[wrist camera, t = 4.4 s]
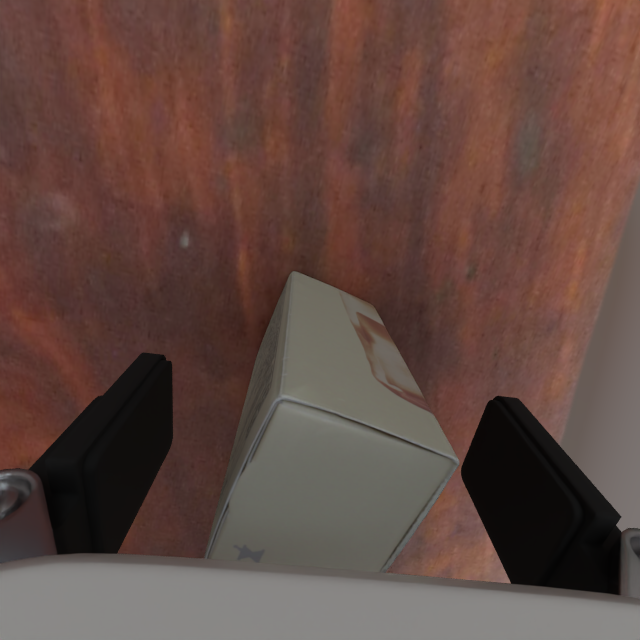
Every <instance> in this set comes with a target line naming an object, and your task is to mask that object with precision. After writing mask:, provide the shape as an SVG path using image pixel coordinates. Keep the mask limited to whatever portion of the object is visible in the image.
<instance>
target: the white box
mask: <svg viewBox="0 0 640 640" xmlns="http://www.w3.org/2000/svg"><path fill="white" fill-rule="evenodd" d="M458 466H459V460H458V458H457V456H456V454H455V452H454V451H453V449H452V447H451V445H450V443H449V442H448V440H447V438H446V436H445V434H444V433H443V431H442V429H441V427H440V425H439V423H438V421H437V419H436V418H435V416H434V415H433V413H432V411H431V409H430V408H429V406H428V404H427V402H426V400H425V398H424V396H423V395H422V393H421V391H420V389H419V387H418V385H417V384H416V382H415V380H414V378H413V376H412V374H411V373H410V371H409V369H408V367H407V365H406V363H405V362H404V360H403V358H402V356H401V354H400V353H399V351H398V349H397V347H396V346H395V344H394V342H393V340H392V338H391V337H390V335H389V333H388V331H387V329H386V327H385V325H384V324H383V322H382V320H381V318H380V316H379V315H378V313H377V311H376V309H375V307H374V306H373V305H372V304H370V303H368V302H366V301H364V300H362V299H359V298H357V297H355V296H353V295H351V294H348V293H346V292H344V291H342V290H339V289H337V288H335V287H332V286H330V285H328V284H325V283H323V282H321V281H318V280H316V279H314V278H311V277H308V276H306V275H304V274H301V273H299V272H296V271H293V272H292V273H291V274H290V275H289V277H288V280H287V282H286V284H285V287H284V289H283V291H282V294H281V296H280V298H279V301H278V303H277V305H276V308H275V310H274V313H273V315H272V318H271V320H270V323H269V325H268V328H267V330H266V333H265V336H264V338H263V341H262V343H261V346H260V349H259V352H258V354H257V357H256V361H255V364H254V369H253V373H252V377H251V380H250V384H249V388H248V392H247V396H246V399H245V403H244V407H243V411H242V415H241V419H240V422H239V426H238V429H237V433H236V437H235V441H234V445H233V449H232V453H231V457H230V460H229V464H228V467H227V471H226V475H225V479H224V483H223V487H222V490H221V494H220V498H219V502H218V506H217V509H216V513H215V517H214V521H213V525H212V529H211V533H210V536H209V540H208V544H207V548H206V552H205V557H204V559H216V560H229V561H242V562H255V563H268V564H281V565H294V566H307V567H319V568H332V569H344V570H356V571H369V572H381V573H385V572H386V571H387V569H388V568H389V567H390V566H391V564H392V563H393V562H394V560H395V559H396V557H397V556H398V555H399V553H400V552H401V551H402V549H403V548H404V546H405V545H406V544H407V542H408V541H409V539H410V538H411V537H412V535H413V534H414V532H415V531H416V529H417V528H418V526H419V525H420V523H421V522H422V521H423V519H424V518H425V517H426V516H427V514H428V512H429V510H430V509H431V507H432V506H433V505H434V503H435V502H436V500H437V499H438V497H439V495H440V494H441V492H442V491H443V489H444V487H445V485H446V484H447V482H448V481H449V479H450V478H451V476H452V474H453V473H454V471H455V470H456V469H457V467H458Z"/></svg>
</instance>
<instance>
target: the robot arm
mask: <svg viewBox="0 0 640 640" xmlns="http://www.w3.org/2000/svg"><path fill="white" fill-rule="evenodd" d="M172 439H173V400H172V362H171V361H167V360H166V357H165V356H164V355H160V354H152V353H142V354H140V355H139V356H138V358H137V359H136V360H135V361H134V362H133V363H132V364H131V365H130V366H129V367H128V369H127V370H126V371H125V372H124V373H123V374H122V375H121V376H120V377H119V378H118V380H117V381H116V382H115V383H114V384H113V385H112V386H111V387H110V388H109V389H108V391H107V392H106V393H105V394H104V395H103V396H98V397H97V398H95V399H94V400H93V401H92V402H91V403H90V404H89V405H88V406H87V408H86V409H85V410H84V411H83V412H82V413H81V414H80V415H79V416H78V417H77V418H76V419H75V420H74V421H73V423H72V424H71V425H70V426H69V427H68V428H67V429H66V430H65V431H64V432H63V433H62V434H61V435H60V436H59V438H58V439H57V440H56V441H55V442H54V443H53V444H52V445H51V446H50V447H49V448H48V449H47V450H46V452H45V453H44V454H43V455H42V456H41V457H40V458H39V459H38V460H37V461H36V462H35V463H34V464H33V465H32V467H31V468H30V469H29V470H26V469H20V468H16V469H4V470H0V640H640V529H638V528H628V529H626V530H624V531H623V532H621V531H620V530H619V529H618V527H617V526H616V524H617V523H618V521H619V520H620V518H621V516H620V515H619V514H618V512H617V511H616V510H615V509H614V508H613V507H612V505H611V504H610V503H609V502H608V501H607V500H606V499H605V498H604V496H603V495H602V494H601V493H600V492H599V490H597V488H596V487H595V486H594V485H593V484H592V482H591V481H590V480H589V479H588V478H587V477H586V476H585V474H584V473H583V472H582V471H581V470H580V469H579V467H578V466H577V465H576V464H575V463H574V462H573V461H572V459H571V458H570V457H569V456H568V455H567V454H566V453H565V452H564V450H563V449H562V448H561V447H560V446H559V445H558V443H557V442H556V441H555V440H554V439H553V438H552V436H551V435H550V434H549V433H548V432H547V431H546V430H545V428H544V427H543V426H542V425H541V424H540V423H539V422H538V420H537V419H536V418H535V417H534V416H533V415H532V414H531V412H530V411H529V410H528V409H527V408H526V407H525V405H524V404H523V403H522V402H521V401H520V400H519V399H517V398H511V397H503V396H496V397H495V398H494V399H493V400H490V401H489V402H488V403H487V405H486V408H485V410H484V413H483V415H482V418H481V420H480V423H479V425H478V428H477V430H476V433H475V435H474V438H473V440H472V442H471V445H470V447H469V450H468V452H467V455H466V457H465V460H464V462H463V465H462V468H461V476H462V480H463V482H464V484H465V486H466V488H467V490H468V492H469V495H470V497H471V499H472V501H473V503H474V505H475V507H476V510H477V512H478V514H479V516H480V518H481V520H482V522H483V524H484V527H485V529H486V531H487V533H488V535H489V537H490V539H491V541H492V544H493V546H494V548H495V550H496V552H497V554H498V556H499V558H500V561H501V563H502V565H503V567H504V569H505V571H506V573H507V575H508V578H509V580H510V582H511V584H508V583H497V582H486V581H474V580H463V579H452V578H440V577H429V576H417V575H405V574H393V573H381V572H369V571H356V570H344V569H332V568H319V567H307V566H294V565H281V564H268V563H255V562H242V561H229V560H216V559H202V558H187V557H170V556H153V555H136V554H117V553H118V551H119V549H120V547H121V545H122V543H123V541H124V539H125V537H126V535H127V533H128V531H129V529H130V527H131V525H132V523H133V521H134V519H135V517H136V515H137V513H138V511H139V509H140V507H141V505H142V503H143V501H144V499H145V497H146V495H147V493H148V491H149V489H150V487H151V485H152V483H153V481H154V479H155V477H156V475H157V473H158V471H159V469H160V467H161V465H162V463H163V461H164V459H165V457H166V455H167V453H168V452H169V449H170V447H171V444H172Z"/></svg>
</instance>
